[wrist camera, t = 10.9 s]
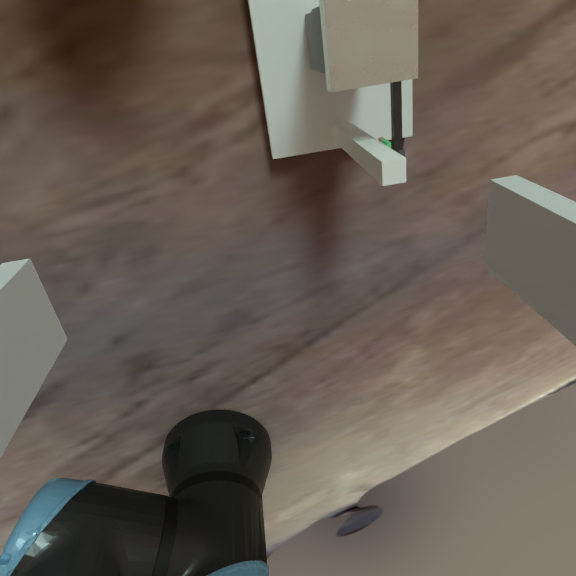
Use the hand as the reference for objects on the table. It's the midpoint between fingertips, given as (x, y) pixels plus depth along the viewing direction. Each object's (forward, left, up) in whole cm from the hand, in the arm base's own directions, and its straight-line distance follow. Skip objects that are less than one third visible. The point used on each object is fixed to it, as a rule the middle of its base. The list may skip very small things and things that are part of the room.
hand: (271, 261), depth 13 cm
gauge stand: (+9, +5, -35) cm, 36 cm away
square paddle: (+9, +2, -30) cm, 31 cm away
